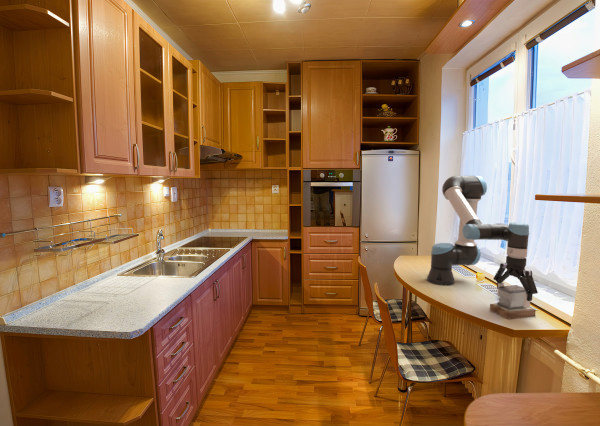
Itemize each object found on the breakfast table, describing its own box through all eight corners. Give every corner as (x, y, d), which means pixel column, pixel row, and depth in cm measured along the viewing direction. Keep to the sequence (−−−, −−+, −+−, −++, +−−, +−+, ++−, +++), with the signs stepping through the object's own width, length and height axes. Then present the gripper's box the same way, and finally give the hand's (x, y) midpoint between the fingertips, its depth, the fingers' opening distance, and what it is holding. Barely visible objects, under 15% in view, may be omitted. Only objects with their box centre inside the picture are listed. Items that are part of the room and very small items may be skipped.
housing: (497, 304, 141) (498, 286, 140) (514, 302, 143) (516, 285, 142) (508, 309, 135) (510, 291, 134) (527, 307, 137) (528, 289, 136)
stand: (489, 310, 142) (490, 303, 142) (514, 307, 146) (515, 300, 146) (508, 319, 133) (509, 312, 132) (535, 316, 136) (535, 309, 136)
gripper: (487, 250, 148) (484, 292, 150) (536, 264, 124) (532, 313, 126) (499, 250, 149) (496, 291, 152) (551, 263, 126) (546, 311, 128)
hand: (512, 301), depth 139 cm, fingers open, 13 cm apart
